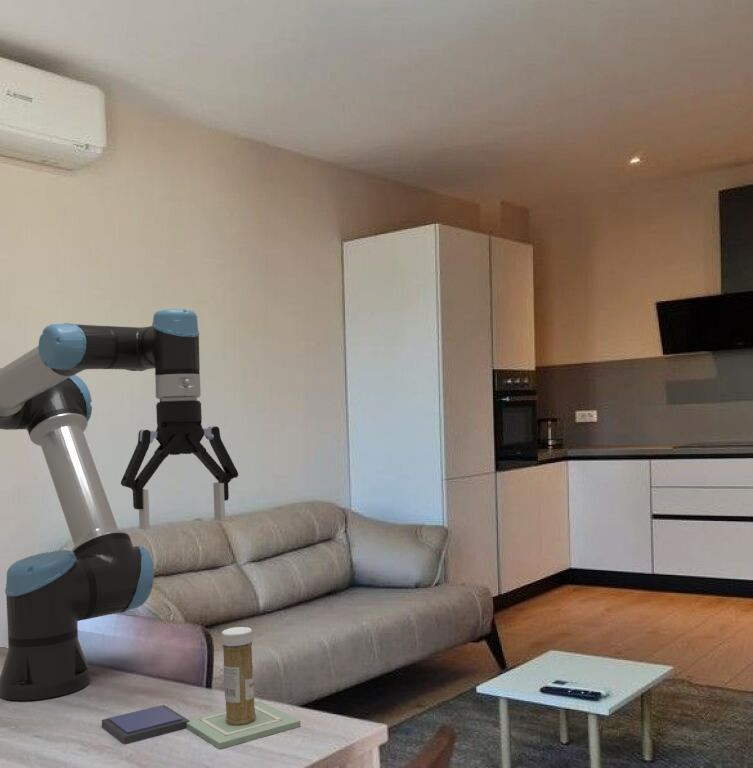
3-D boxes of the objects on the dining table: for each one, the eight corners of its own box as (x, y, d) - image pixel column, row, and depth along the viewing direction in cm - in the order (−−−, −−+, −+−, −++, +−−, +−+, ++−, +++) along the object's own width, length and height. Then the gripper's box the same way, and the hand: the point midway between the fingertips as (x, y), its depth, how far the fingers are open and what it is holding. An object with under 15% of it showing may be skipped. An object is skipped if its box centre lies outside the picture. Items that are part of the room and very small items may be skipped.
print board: (182, 725, 132) (182, 719, 132) (259, 705, 140) (259, 699, 140) (219, 749, 122) (219, 742, 122) (300, 726, 129) (300, 719, 129)
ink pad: (101, 726, 134) (101, 717, 134) (164, 711, 140) (163, 702, 140) (124, 744, 126) (123, 735, 126) (189, 727, 131) (189, 718, 132)
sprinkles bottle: (260, 721, 130) (257, 629, 131) (232, 728, 128) (228, 635, 128) (248, 713, 134) (244, 624, 135) (220, 719, 132) (216, 629, 132)
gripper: (113, 401, 140) (118, 534, 139) (254, 397, 154) (258, 518, 154) (98, 403, 146) (103, 530, 145) (235, 399, 160) (239, 515, 160)
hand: (183, 524), depth 149 cm, fingers open, 13 cm apart
